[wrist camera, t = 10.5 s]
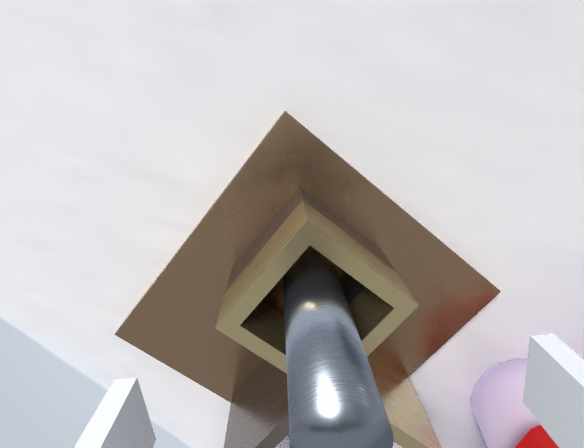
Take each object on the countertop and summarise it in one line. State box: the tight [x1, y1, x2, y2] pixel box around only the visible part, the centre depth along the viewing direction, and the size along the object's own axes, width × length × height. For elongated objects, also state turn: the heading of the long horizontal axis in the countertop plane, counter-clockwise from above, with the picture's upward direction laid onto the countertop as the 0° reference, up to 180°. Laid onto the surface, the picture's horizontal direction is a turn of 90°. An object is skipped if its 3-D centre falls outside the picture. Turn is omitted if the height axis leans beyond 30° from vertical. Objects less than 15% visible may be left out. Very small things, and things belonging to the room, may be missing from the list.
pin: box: [283, 246, 394, 448], centre depth 17 cm, size 3×3×13 cm
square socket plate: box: [115, 111, 501, 448], centre depth 22 cm, size 18×18×8 cm
